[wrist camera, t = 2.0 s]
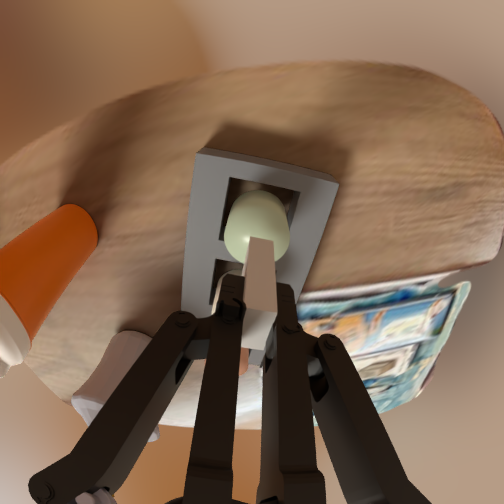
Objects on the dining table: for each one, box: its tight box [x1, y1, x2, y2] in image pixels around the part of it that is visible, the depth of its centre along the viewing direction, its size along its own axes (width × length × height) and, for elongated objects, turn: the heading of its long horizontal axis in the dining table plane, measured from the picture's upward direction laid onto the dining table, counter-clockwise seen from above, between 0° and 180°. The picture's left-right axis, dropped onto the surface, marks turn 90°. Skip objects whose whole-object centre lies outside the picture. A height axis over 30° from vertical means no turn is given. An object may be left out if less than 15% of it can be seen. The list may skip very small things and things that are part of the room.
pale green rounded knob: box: [224, 190, 290, 264], centre depth 22 cm, size 5×5×4 cm
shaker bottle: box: [0, 204, 98, 378], centre depth 19 cm, size 9×9×20 cm
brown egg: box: [205, 347, 249, 376], centre depth 30 cm, size 5×5×4 cm
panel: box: [181, 147, 339, 365], centre depth 29 cm, size 12×25×3 cm, turn 168°
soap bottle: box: [71, 331, 160, 497], centre depth 28 cm, size 13×13×25 cm
